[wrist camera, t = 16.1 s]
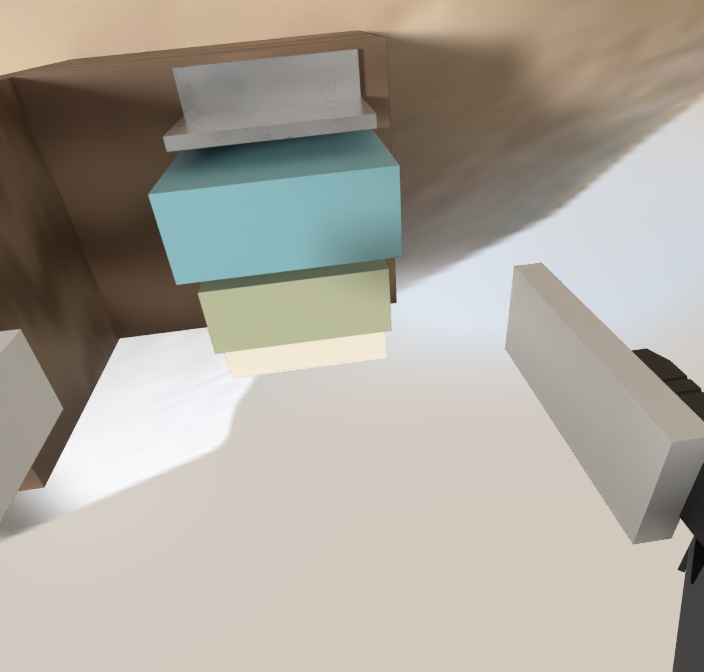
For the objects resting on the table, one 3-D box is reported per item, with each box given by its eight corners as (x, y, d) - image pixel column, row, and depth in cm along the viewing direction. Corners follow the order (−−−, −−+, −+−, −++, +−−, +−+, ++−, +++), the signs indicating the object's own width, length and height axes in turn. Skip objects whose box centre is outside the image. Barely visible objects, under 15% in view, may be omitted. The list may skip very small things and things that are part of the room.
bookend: (173, 67, 24) (147, 81, 20) (357, 48, 25) (373, 57, 20) (188, 126, 26) (166, 151, 21) (360, 107, 26) (377, 128, 22)
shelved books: (215, 236, 29) (197, 292, 23) (368, 217, 29) (388, 268, 24) (236, 321, 32) (225, 390, 26) (373, 304, 33) (393, 367, 27)
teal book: (182, 147, 26) (148, 194, 20) (370, 126, 27) (399, 165, 20) (201, 220, 28) (176, 284, 22) (375, 200, 29) (402, 256, 22)
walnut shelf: (70, 59, 34) (-245, 131, 14) (357, 30, 34) (456, 57, 15) (140, 262, 42) (9, 492, 22) (370, 234, 43) (445, 430, 23)
